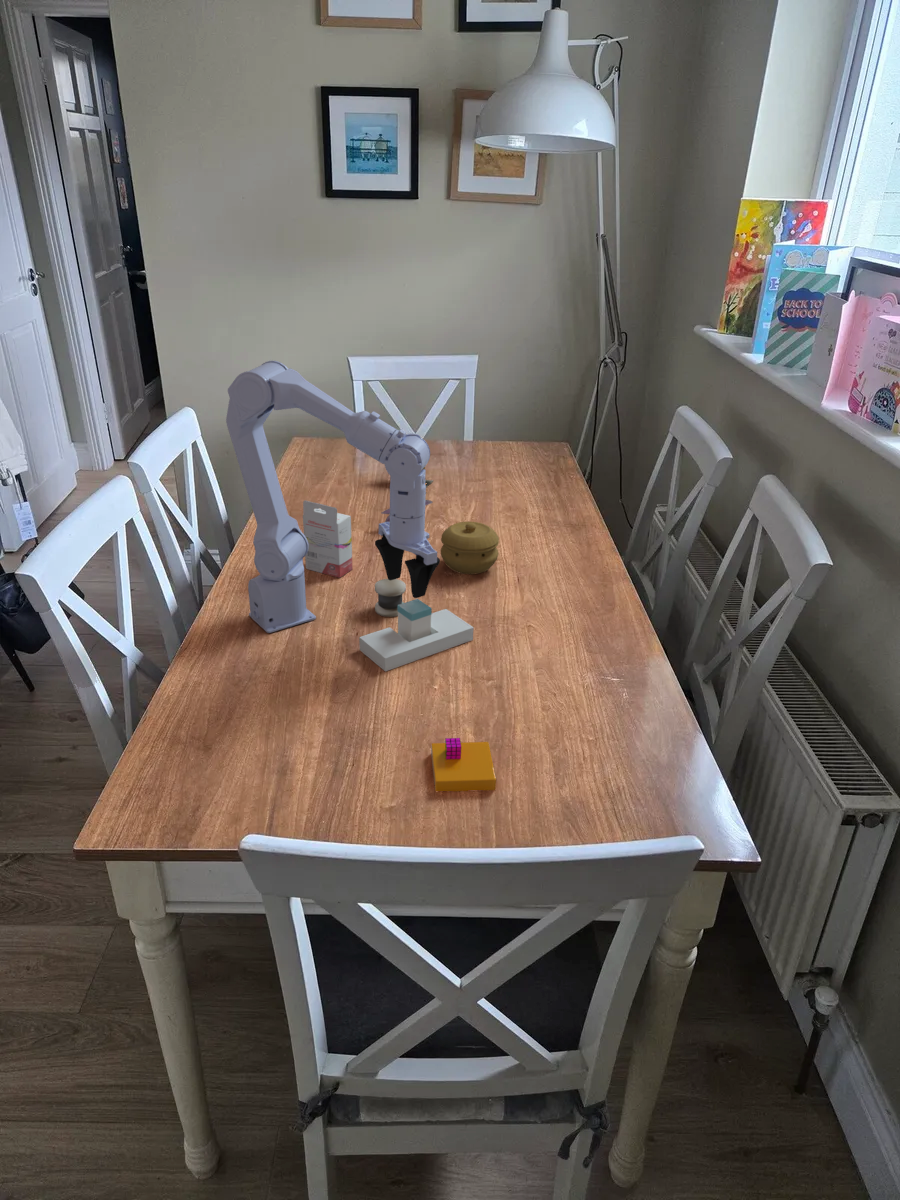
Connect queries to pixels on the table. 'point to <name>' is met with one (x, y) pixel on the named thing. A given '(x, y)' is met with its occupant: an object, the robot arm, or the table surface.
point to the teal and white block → (414, 620)
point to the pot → (469, 547)
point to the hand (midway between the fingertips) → (406, 587)
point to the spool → (389, 596)
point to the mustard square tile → (462, 766)
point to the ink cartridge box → (327, 539)
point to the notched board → (398, 651)
